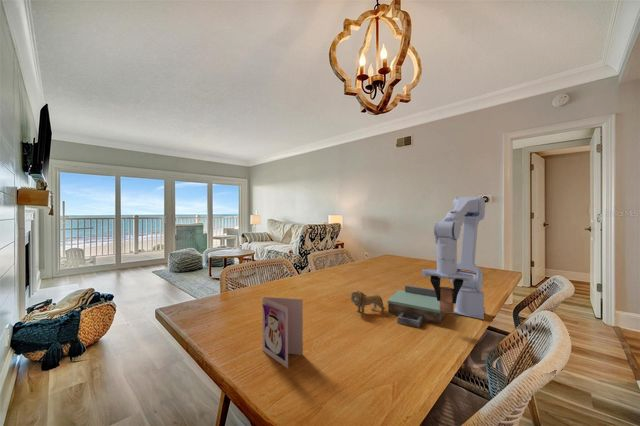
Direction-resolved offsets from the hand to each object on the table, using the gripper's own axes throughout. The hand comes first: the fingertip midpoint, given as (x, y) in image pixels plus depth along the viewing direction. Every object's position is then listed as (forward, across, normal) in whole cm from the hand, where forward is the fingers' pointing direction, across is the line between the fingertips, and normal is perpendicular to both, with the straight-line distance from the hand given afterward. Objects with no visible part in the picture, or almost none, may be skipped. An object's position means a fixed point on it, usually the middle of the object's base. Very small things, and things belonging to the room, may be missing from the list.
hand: (446, 301), depth 83 cm
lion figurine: (+10, -27, +1) cm, 29 cm away
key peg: (+3, 0, 0) cm, 3 cm away
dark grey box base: (+10, -12, +9) cm, 17 cm away
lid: (+6, -11, +12) cm, 17 cm away
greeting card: (+10, -36, -38) cm, 53 cm away
